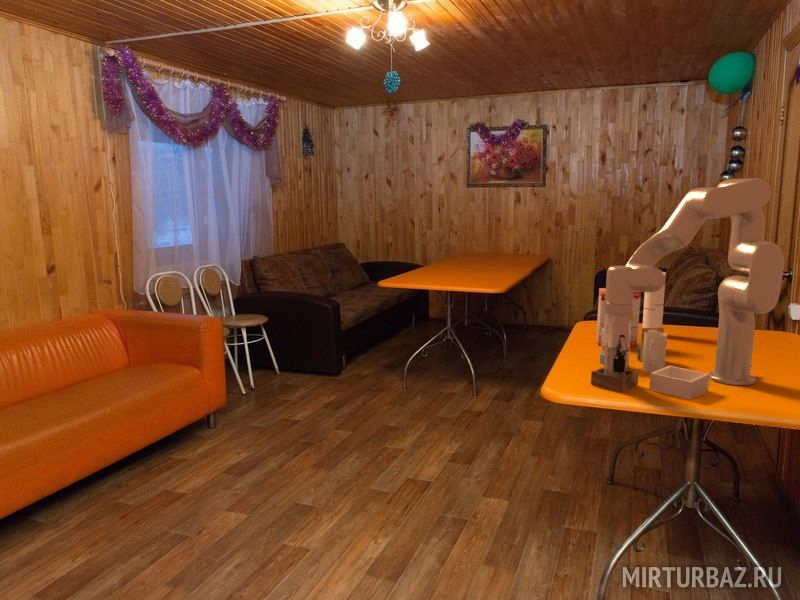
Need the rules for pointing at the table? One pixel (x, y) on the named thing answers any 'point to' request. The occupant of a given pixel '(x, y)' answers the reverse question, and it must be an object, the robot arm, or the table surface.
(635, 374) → the walnut holder
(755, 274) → the robot arm
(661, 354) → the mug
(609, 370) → the energy drink can
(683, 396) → the grey bin
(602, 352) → the ink box
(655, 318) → the cylindrical container
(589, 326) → the table surface
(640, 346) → the crayon box
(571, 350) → the table surface
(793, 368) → the table surface
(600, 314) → the cracker box
